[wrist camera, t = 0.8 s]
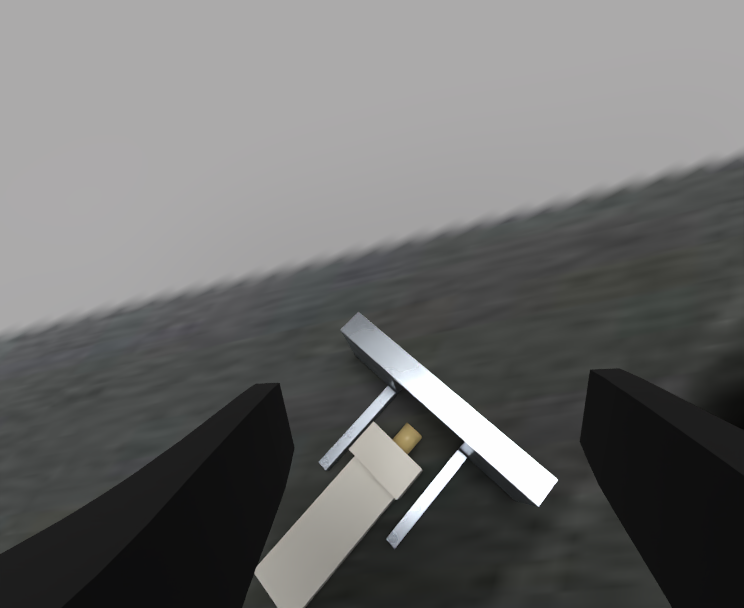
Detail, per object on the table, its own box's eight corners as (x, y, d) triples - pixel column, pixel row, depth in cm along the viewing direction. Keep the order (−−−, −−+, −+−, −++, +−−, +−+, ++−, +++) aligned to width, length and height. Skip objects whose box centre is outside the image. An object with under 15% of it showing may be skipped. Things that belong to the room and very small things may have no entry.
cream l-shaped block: (306, 612, 18) (280, 640, 15) (268, 558, 20) (236, 574, 17) (437, 454, 21) (438, 449, 18) (395, 414, 22) (389, 403, 19)
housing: (443, 599, 18) (447, 635, 14) (288, 425, 23) (257, 412, 18) (530, 479, 20) (557, 479, 15) (370, 340, 24) (358, 311, 20)
